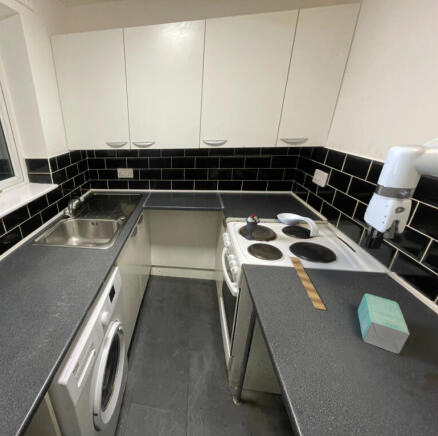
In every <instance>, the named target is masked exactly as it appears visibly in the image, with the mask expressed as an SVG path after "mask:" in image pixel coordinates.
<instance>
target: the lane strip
mask: <svg viewBox="0 0 438 436" xmlns="http://www.w3.org/2000/svg"><path fill="white" fill-rule="evenodd" d="M289 260H290V261H291V263H292V266H293V267H294V269H295V271H296V273H297V275H298V278H299V279H300V282H301V283H302V286H303V287H304V289H305V291H306V293H307V296H308V297H309V299H310V301H311V303H312V305H313V308H314V309H315V310H320V311H327V308H326V307H325V305H324V302H323V301H322V299H321V297H320V296H319V294H318V292H317V290H316V288H315V287H314V285H313V283H312V281H311V279H310V277H309V275H308V274H307V272H306V270H305V269H304V267H303V265H302V263H301V262H300V261H301V260H300V259H299V257H295V256H289Z"/></svg>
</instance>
